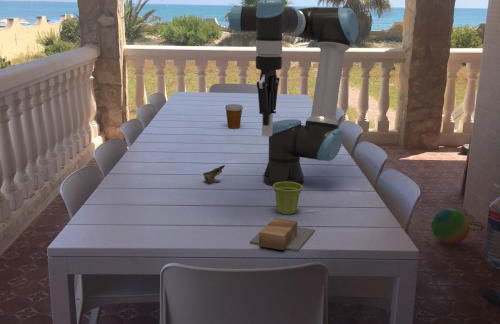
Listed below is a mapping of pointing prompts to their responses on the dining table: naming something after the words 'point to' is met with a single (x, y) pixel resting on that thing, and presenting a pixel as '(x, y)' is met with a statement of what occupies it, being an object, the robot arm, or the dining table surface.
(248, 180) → the dining table surface
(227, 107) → the disposable coffee cup
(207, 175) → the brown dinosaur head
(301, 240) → the rubber mat
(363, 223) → the dining table surface
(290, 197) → the plant pot
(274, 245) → the walnut block
